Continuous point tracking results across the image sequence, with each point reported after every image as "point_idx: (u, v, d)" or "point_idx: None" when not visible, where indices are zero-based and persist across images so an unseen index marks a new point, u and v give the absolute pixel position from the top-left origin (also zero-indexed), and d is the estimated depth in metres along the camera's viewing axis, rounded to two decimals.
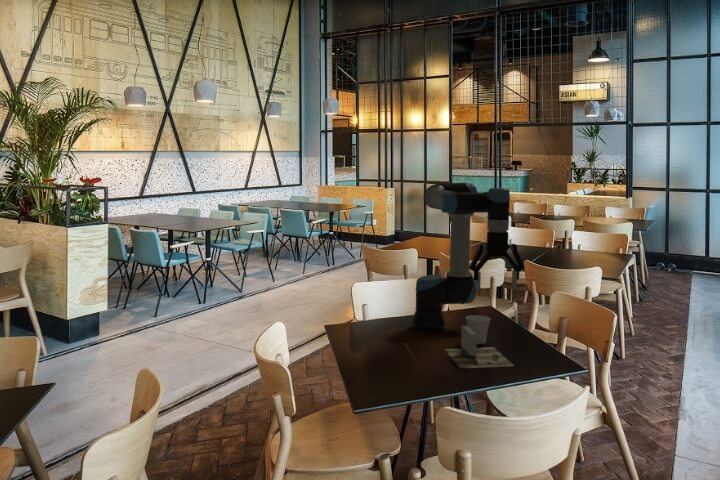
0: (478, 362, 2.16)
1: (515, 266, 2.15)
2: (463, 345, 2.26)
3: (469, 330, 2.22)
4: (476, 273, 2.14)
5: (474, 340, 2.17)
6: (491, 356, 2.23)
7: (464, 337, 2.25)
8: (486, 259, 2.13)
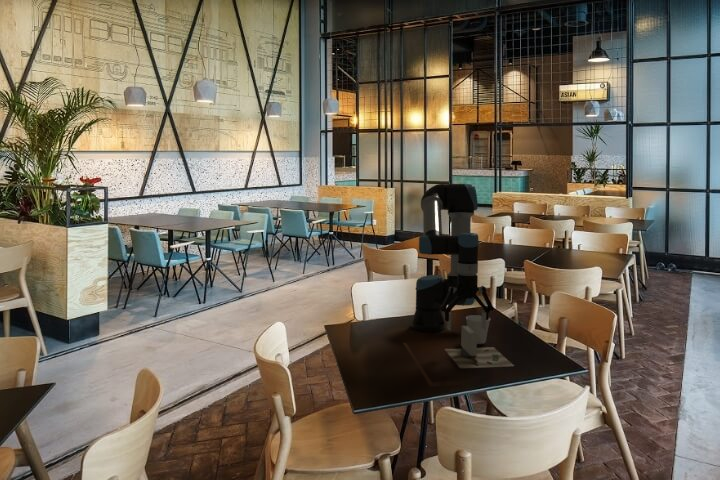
0: (478, 362, 2.16)
1: (484, 307, 2.24)
2: (463, 345, 2.26)
3: (469, 330, 2.22)
4: (447, 314, 2.23)
5: (474, 340, 2.17)
6: (491, 356, 2.23)
7: (464, 337, 2.25)
8: (456, 301, 2.22)
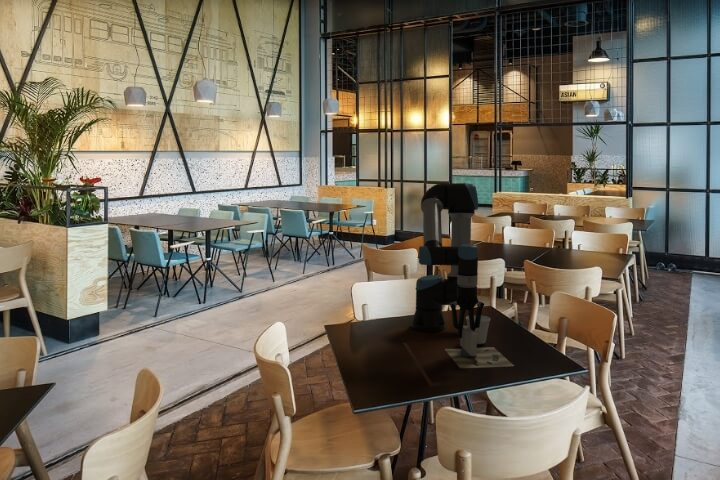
0: (478, 362, 2.16)
1: (472, 324, 2.25)
2: None
3: (469, 330, 2.22)
4: (460, 331, 2.25)
5: (474, 340, 2.17)
6: (491, 356, 2.23)
7: (464, 337, 2.25)
8: (462, 315, 2.24)
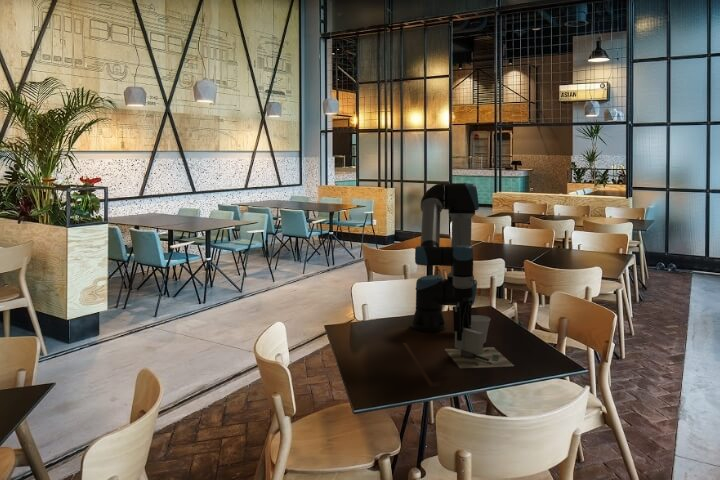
0: (478, 362, 2.16)
1: (468, 323, 2.26)
2: None
3: (470, 330, 2.22)
4: (461, 333, 2.22)
5: (481, 339, 2.18)
6: (491, 356, 2.23)
7: None
8: (463, 317, 2.22)
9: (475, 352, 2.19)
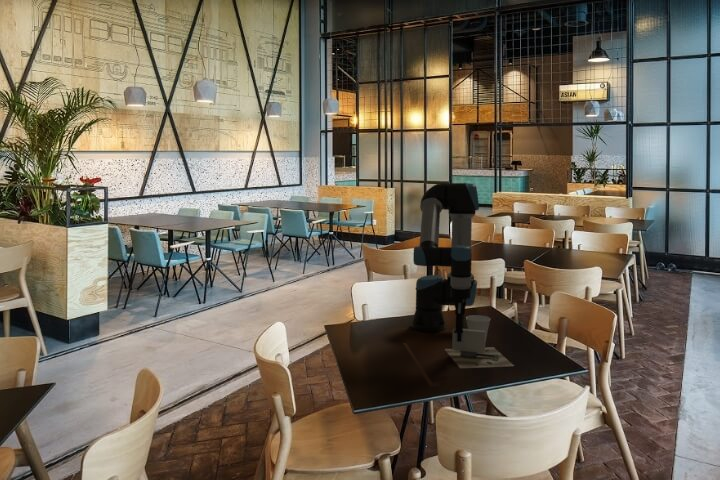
0: (478, 362, 2.16)
1: (463, 324, 2.25)
2: None
3: (470, 330, 2.22)
4: (461, 334, 2.21)
5: None
6: None
7: None
8: None
9: (479, 351, 2.21)
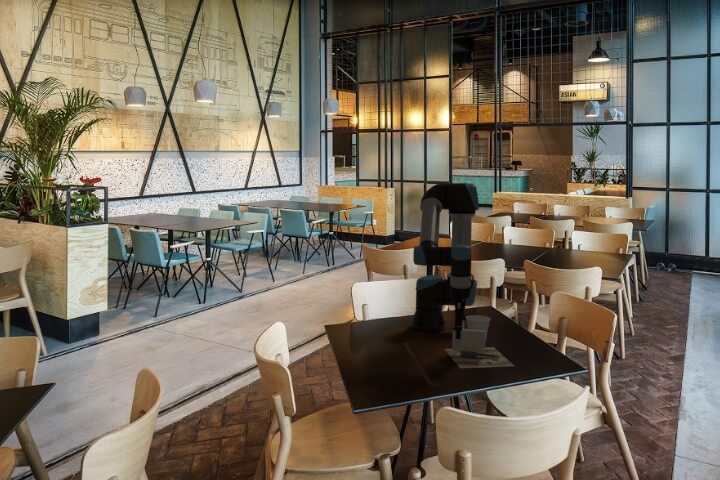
0: (478, 362, 2.16)
1: (464, 315, 2.29)
2: (460, 348, 2.23)
3: (470, 330, 2.22)
4: (460, 332, 2.15)
5: None
6: None
7: (462, 339, 2.22)
8: (462, 316, 2.18)
9: (479, 350, 2.21)
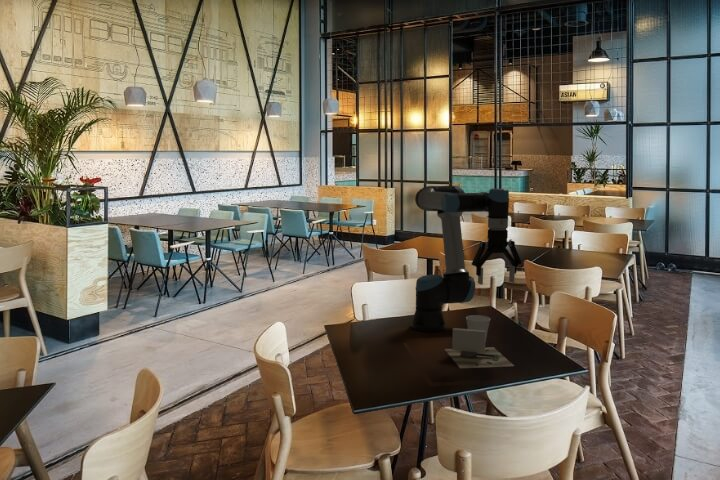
0: (478, 362, 2.16)
1: (513, 261, 2.30)
2: (460, 348, 2.23)
3: (470, 330, 2.22)
4: (479, 269, 2.27)
5: None
6: None
7: (462, 339, 2.22)
8: (488, 255, 2.27)
9: (479, 350, 2.21)
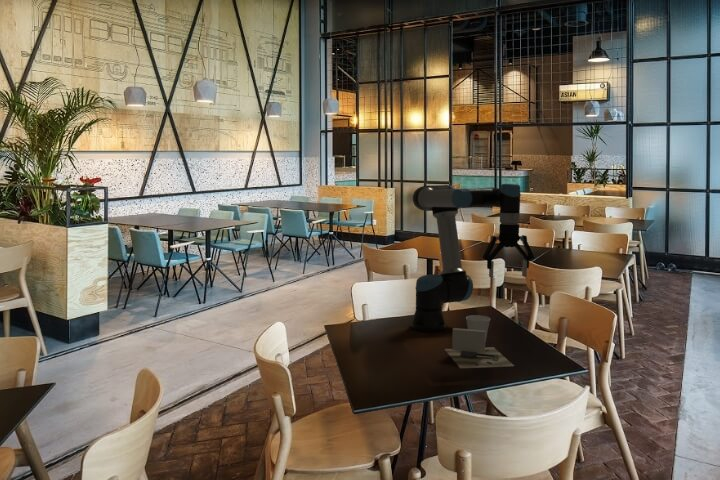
0: (478, 362, 2.16)
1: (525, 256, 2.33)
2: (460, 348, 2.23)
3: (470, 330, 2.22)
4: (489, 262, 2.32)
5: None
6: None
7: (462, 339, 2.22)
8: (498, 249, 2.31)
9: (479, 350, 2.21)
